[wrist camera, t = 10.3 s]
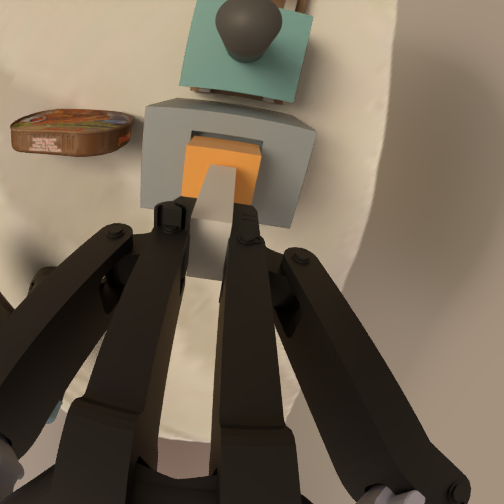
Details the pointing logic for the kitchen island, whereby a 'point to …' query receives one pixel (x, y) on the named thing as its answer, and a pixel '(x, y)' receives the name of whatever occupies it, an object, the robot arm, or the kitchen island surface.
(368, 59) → the kitchen island surface
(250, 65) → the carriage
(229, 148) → the button
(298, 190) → the cabinet
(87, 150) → the tin
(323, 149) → the kitchen island surface
